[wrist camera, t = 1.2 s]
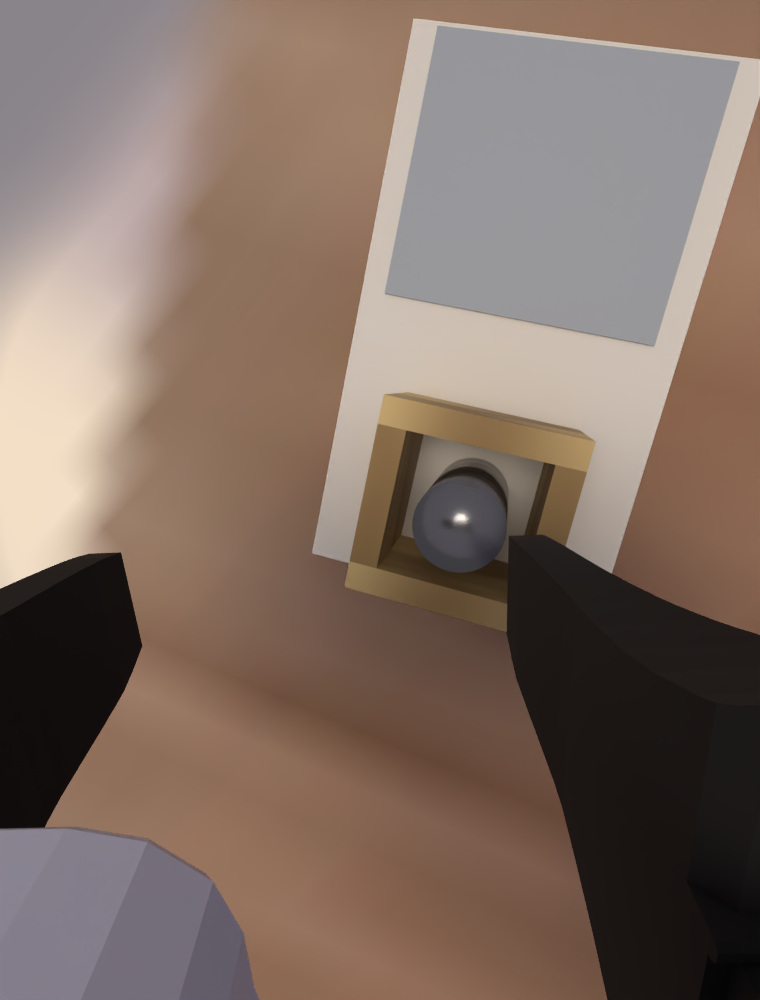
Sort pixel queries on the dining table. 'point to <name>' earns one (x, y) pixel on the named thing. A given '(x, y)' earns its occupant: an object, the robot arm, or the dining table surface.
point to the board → (539, 256)
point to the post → (463, 516)
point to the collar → (378, 541)
